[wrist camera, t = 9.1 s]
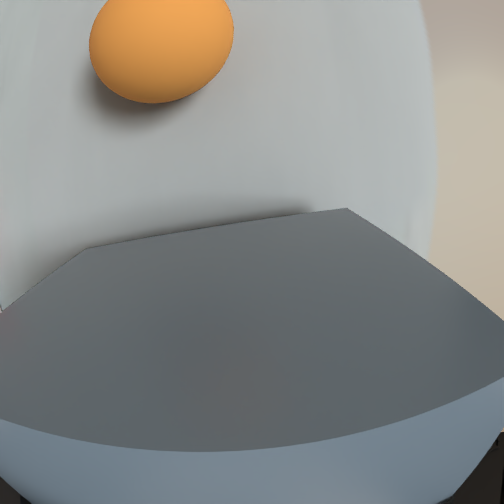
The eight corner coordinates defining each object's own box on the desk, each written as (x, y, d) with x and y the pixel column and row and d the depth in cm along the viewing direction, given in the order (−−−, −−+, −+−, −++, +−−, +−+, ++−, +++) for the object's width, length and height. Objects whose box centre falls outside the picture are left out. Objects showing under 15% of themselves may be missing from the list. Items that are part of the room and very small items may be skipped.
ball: (245, 98, 11) (243, 61, 6) (128, 125, 11) (64, 113, 6) (227, 0, 9) (217, -66, 5) (118, 28, 10) (64, -16, 5)
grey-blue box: (346, 405, 14) (390, 552, 5) (158, 422, 14) (123, 560, 6) (346, 207, 10) (540, 354, 2) (86, 249, 11) (-75, 384, 2)
